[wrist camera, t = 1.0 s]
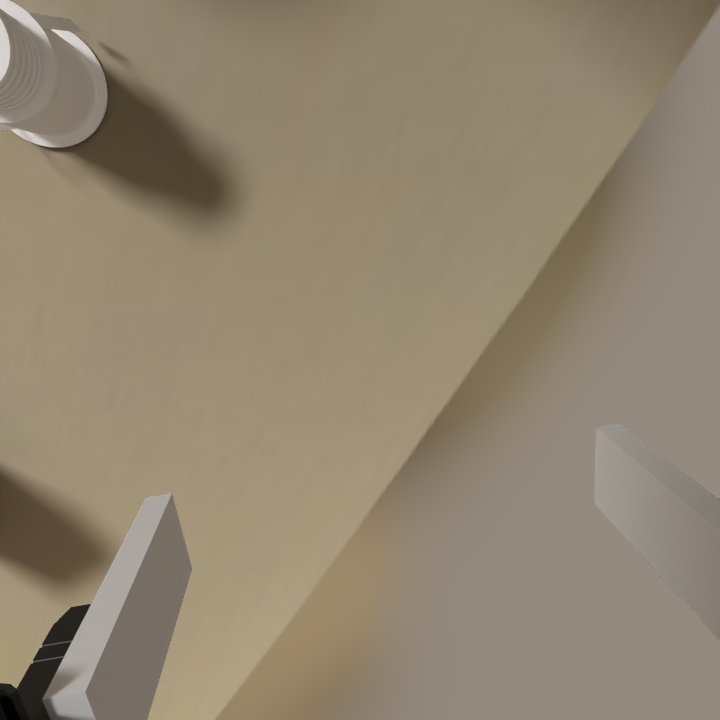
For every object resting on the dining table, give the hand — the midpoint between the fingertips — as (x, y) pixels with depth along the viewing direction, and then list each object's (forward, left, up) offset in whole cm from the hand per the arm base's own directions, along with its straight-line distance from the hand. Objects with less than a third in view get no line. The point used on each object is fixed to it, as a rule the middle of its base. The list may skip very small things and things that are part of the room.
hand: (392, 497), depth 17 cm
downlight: (-22, -7, -24) cm, 34 cm away
